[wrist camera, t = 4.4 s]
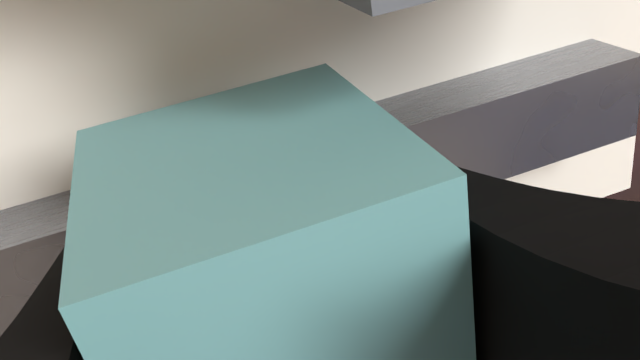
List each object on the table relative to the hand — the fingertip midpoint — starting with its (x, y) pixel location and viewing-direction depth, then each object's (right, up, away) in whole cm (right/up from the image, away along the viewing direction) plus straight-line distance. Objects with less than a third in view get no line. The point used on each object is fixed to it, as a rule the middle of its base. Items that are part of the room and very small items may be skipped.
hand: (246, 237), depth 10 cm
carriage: (0, +1, +1) cm, 1 cm away
